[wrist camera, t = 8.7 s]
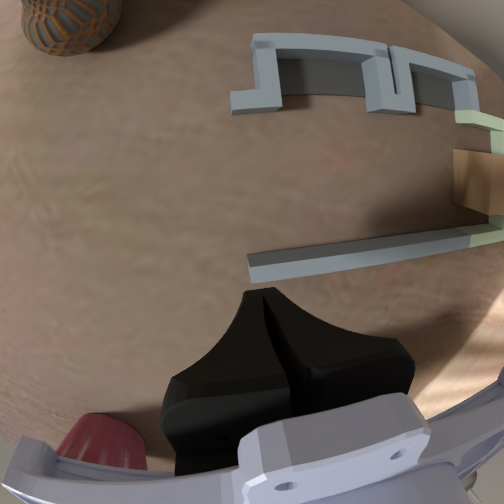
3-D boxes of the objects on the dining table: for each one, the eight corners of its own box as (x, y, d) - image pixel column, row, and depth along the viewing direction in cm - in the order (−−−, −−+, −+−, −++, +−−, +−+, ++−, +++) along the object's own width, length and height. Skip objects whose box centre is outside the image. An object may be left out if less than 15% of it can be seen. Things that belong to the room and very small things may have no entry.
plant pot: (103, 385, 24) (68, 485, 12) (186, 448, 29) (183, 534, 17) (46, 410, 26) (16, 480, 14) (118, 463, 31) (106, 529, 19)
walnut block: (480, 201, 22) (515, 213, 17) (451, 202, 21) (488, 215, 17) (482, 153, 20) (518, 159, 15) (452, 148, 20) (491, 153, 15)
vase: (122, -19, 12) (85, -75, 4) (142, 35, 15) (99, -22, 6) (51, 23, 13) (-7, -9, 4) (64, 81, 15) (-8, 58, 7)
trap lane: (492, 233, 23) (506, 239, 21) (248, 269, 21) (251, 283, 19) (490, 86, 17) (505, 85, 15) (224, 48, 16) (224, 35, 14)
